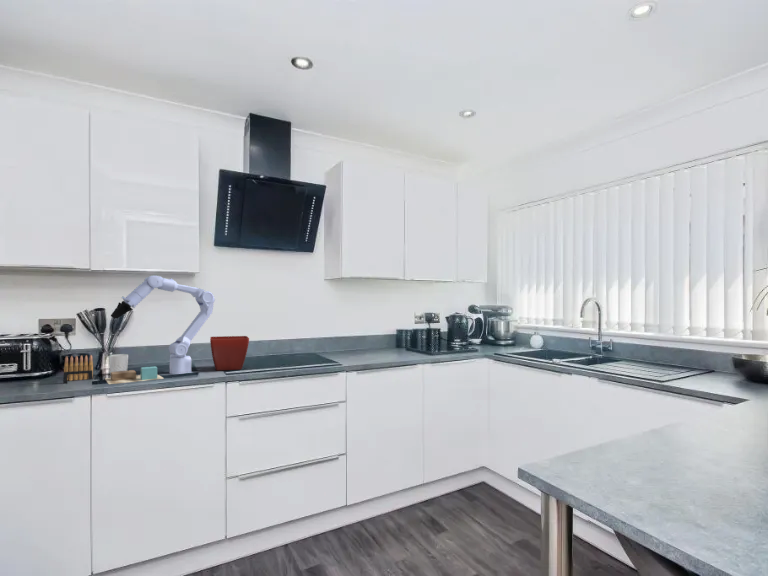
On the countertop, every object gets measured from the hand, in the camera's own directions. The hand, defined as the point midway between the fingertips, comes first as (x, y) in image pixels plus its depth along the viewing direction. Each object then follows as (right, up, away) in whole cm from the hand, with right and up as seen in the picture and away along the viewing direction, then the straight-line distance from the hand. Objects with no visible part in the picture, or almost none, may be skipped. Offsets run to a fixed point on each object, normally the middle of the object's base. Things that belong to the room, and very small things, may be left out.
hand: (113, 317), depth 184 cm
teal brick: (+15, -28, +2) cm, 32 cm away
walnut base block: (+3, -28, +2) cm, 28 cm away
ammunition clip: (-15, -29, -2) cm, 33 cm away
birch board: (+8, -29, +2) cm, 30 cm away
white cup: (-7, -30, +15) cm, 34 cm away
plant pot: (+38, -31, +36) cm, 61 cm away
